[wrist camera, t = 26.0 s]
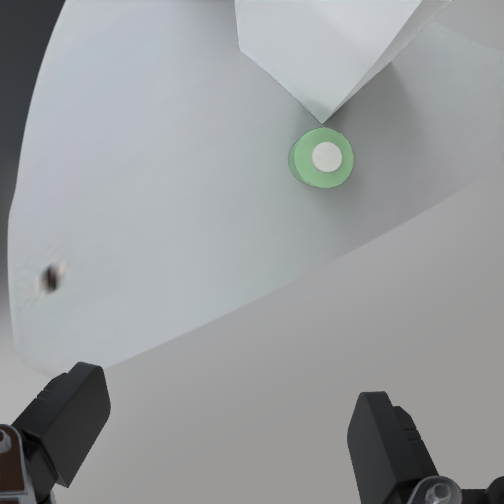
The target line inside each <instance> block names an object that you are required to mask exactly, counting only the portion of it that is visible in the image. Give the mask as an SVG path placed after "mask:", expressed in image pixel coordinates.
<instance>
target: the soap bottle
mask: <svg viewBox="0 0 504 504" xmlns="http://www.w3.org/2000/svg"><path fill="white" fill-rule="evenodd" d="M288 161H289V167H290V170H291V172H292V173H293V175H294V176H295V177H296V178H297V179H298V180H300V181H301V182H303V183H306V184H309V185H312V186H315V187H319V188H332V187H335V186H337V185H340V184H341V183H343V182H344V181H345V180H346V179H347V178H348V176H349V175H350V173H351V171H352V169H353V165H354V154H353V150H352V147H351V145H350V143H349V142H348V140H347V139H346V138H345V137H344V136H343V135H342V134H341V133H339V132H337V131H335V130H333V129H329V128H317V129H313V130H311V131H309V132H307V133H305V134H304V135H303V136H302V137H301V138H300V139H299V140H298V141H297V142H296V143H295V144H294V145H293V147H292V148H291V150H290V153H289V160H288Z"/></svg>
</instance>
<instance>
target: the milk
mask: <svg viewBox="0 0 504 504" xmlns="http://www.w3.org/2000/svg"><path fill="white" fill-rule="evenodd" d="M234 1H235V11H236V21H237V31H238V42H239V50H240V51H242V52H243V53H244V54H245V55H247V56H248V57H249V58H250V59H251V60H253V61H254V62H255V63H256V64H257V65H259V66H260V67H261V68H262V69H263V70H265V71H266V72H267V73H268V74H269V75H270V76H271V77H273V78H274V79H275V80H276V81H277V82H278V83H279V84H280V85H282V86H283V87H284V88H285V89H286V90H287V91H288V92H289V93H290V94H291V95H292V96H294V97H295V98H296V99H297V100H298V101H299V102H300V103H301V104H302V105H303V106H304V107H305V108H306V109H307V110H308V111H309V112H310V113H311V114H312V115H313V116H314V117H315V118H316V119H317V120H318V121H319V122H320V123H321V124H323V123H324V122H325V121H326V120H327V119H328V118H329V117H330V116H332V115H333V114H334V113H335V112H336V111H337V110H338V109H339V108H340V107H341V106H342V105H343V104H344V103H346V102H347V101H348V100H349V99H350V98H351V97H352V96H353V95H354V94H355V93H356V92H357V91H359V90H360V89H361V88H362V87H363V86H364V85H365V84H366V83H367V82H368V81H370V80H371V79H372V78H373V77H374V76H375V75H376V74H377V73H378V72H380V71H381V70H382V69H383V68H384V67H385V66H386V65H387V64H389V63H390V62H391V61H392V60H393V59H394V58H395V57H396V56H397V55H398V54H399V53H400V52H401V51H402V50H403V49H404V48H405V47H406V46H407V45H408V44H409V43H410V42H411V41H412V40H413V39H414V38H415V37H416V36H417V35H418V34H419V33H420V32H421V31H422V30H423V29H424V28H425V27H426V26H427V25H428V24H429V23H430V22H431V21H432V20H433V19H434V18H435V17H436V16H437V15H438V14H439V13H441V12H442V11H443V10H444V9H445V8H446V7H447V6H448V5H449V4H450V3H451V2H452V1H453V0H234Z"/></svg>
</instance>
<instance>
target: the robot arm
mask: <svg viewBox="0 0 504 504" xmlns="http://www.w3.org/2000/svg"><path fill="white" fill-rule="evenodd" d="M110 406H111V405H110V399H109V394H108V390H107V385H106V381H105V376H104V372H103V369H102V367H100V366H97V365H93V364H88V363H84V362H78V363H77V364H76V365H75V366H74V367H73V368H72V369H71V370H70V371H69V372H68V373H63V374H61V375H59V376H57V377H55V378H54V379H52V380H51V381H50V382H49V383H48V384H47V385H46V387H45V388H44V390H43V391H41V392H40V393H39V394H38V395H37V398H35V399H34V400H33V401H32V402H31V403H30V404H29V405H28V407H27V408H26V409H25V410H24V411H23V412H22V413H21V415H19V417H18V418H17V419H16V420H15V421H14V422H13V424H12V425H11V426H10V425H6V424H0V504H56V500H55V496H54V493H53V491H52V488H53V486H54V484H55V483H57V484H59V485H62V486H64V487H67V488H69V486H70V484H71V482H72V480H73V478H74V477H75V475H76V473H77V471H78V470H79V468H80V466H81V465H82V463H83V461H84V459H85V458H86V456H87V454H88V452H89V451H90V449H91V447H92V445H93V444H94V442H95V440H96V438H97V437H98V435H99V433H100V432H101V430H102V428H103V427H104V425H105V423H106V422H107V420H108V418H109V415H110V408H111V407H110ZM347 442H348V448H349V452H350V456H351V460H352V465H353V469H354V473H355V478H356V482H357V486H358V491H359V495H360V499H361V504H504V476H502V477H499V478H497V479H495V480H494V481H493V482H492V483H491V484H490V486H489V487H488V488H487V489H460V487H459V486H458V485H457V483H455V482H454V481H453V480H451V479H449V478H447V477H443V476H439V474H438V472H437V470H436V468H435V465H434V463H433V461H432V459H431V457H430V455H429V453H428V451H427V448H426V446H425V444H424V442H423V441H422V440H421V436H420V434H419V432H418V430H416V426H415V424H414V422H413V420H412V418H411V416H410V415H409V414H408V413H407V412H406V411H404V410H403V409H402V408H401V407H400V406H395V407H393V406H392V404H391V401H390V399H389V397H388V395H387V393H386V392H384V391H381V392H362V393H360V395H359V397H358V400H357V403H356V406H355V409H354V413H353V415H352V418H351V421H350V424H349V428H348V434H347Z"/></svg>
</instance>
